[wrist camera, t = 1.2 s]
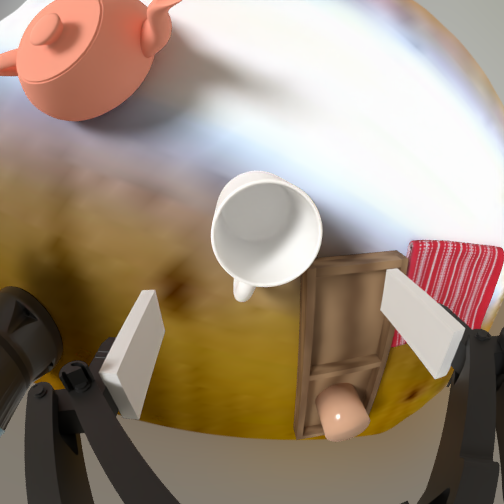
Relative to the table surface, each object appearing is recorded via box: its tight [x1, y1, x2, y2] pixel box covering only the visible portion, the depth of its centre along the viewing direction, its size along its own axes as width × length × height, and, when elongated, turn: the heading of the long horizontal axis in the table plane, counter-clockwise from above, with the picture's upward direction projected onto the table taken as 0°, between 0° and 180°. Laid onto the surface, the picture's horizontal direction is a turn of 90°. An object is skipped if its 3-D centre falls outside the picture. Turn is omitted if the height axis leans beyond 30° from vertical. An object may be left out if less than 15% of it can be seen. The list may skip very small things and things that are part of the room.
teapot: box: [0, 0, 182, 121], centre depth 17 cm, size 22×15×12 cm
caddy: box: [294, 250, 408, 440], centre depth 37 cm, size 13×33×3 cm, turn 3°
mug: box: [211, 171, 323, 302], centre depth 26 cm, size 12×8×10 cm
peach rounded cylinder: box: [315, 383, 370, 442], centre depth 37 cm, size 7×7×7 cm
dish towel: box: [391, 240, 504, 347], centre depth 36 cm, size 17×24×3 cm
